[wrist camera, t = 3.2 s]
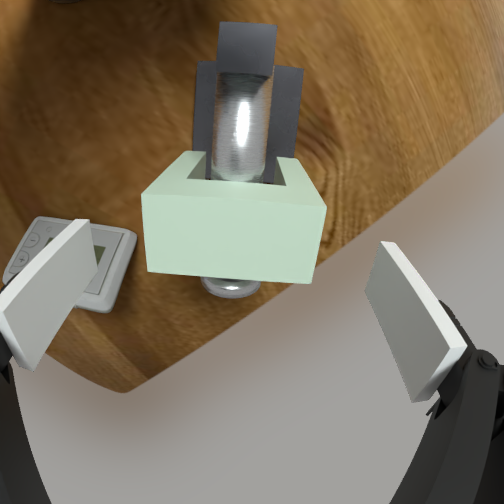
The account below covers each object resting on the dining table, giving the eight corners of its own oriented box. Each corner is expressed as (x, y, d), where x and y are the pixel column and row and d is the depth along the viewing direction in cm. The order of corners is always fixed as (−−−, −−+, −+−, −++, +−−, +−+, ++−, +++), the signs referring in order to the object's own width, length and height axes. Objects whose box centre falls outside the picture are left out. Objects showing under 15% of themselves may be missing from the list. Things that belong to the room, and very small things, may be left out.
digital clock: (145, 230, 35) (112, 282, 26) (134, 286, 39) (107, 342, 30) (39, 193, 32) (-11, 229, 23) (38, 249, 36) (-2, 291, 27)
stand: (194, 193, 33) (143, 296, 17) (200, 60, 25) (135, 26, 10) (285, 200, 33) (314, 309, 17) (301, 68, 26) (363, 41, 10)
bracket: (185, 202, 23) (147, 271, 14) (185, 150, 21) (141, 193, 12) (290, 210, 23) (310, 283, 15) (297, 158, 21) (326, 207, 13)
